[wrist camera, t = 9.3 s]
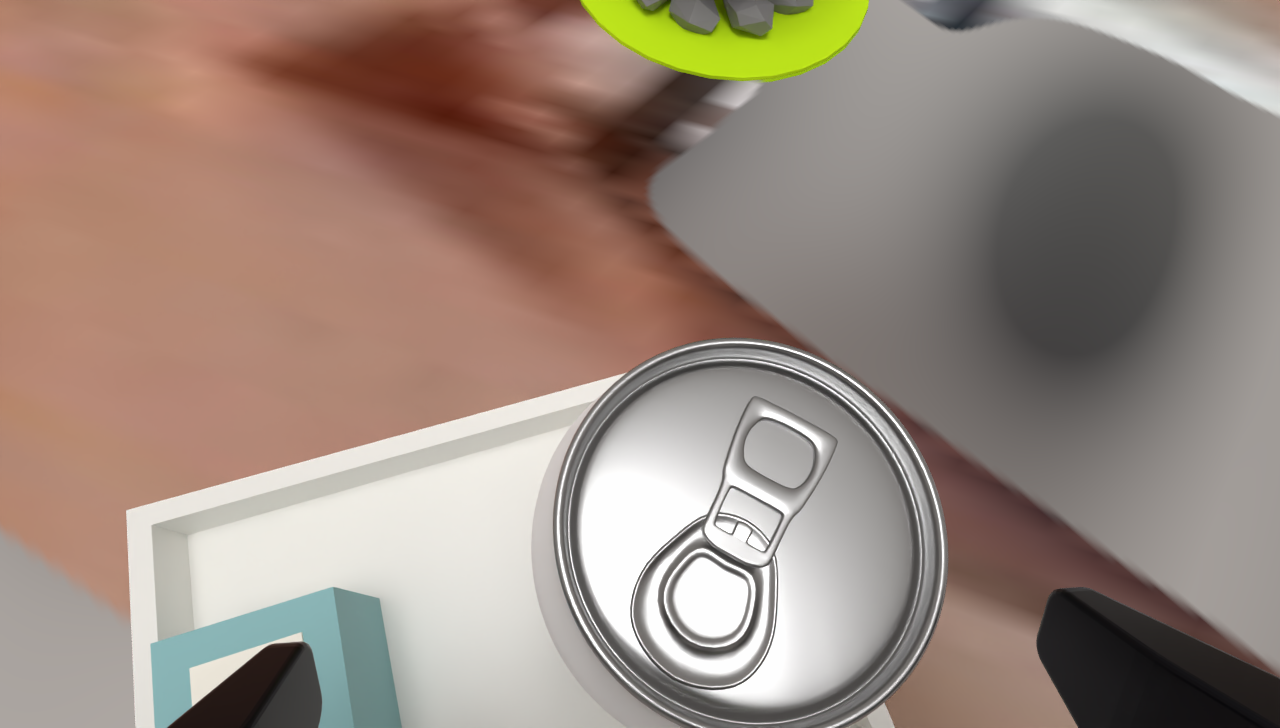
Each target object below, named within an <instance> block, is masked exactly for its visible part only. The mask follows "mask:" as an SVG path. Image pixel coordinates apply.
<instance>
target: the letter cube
mask: <svg viewBox="0 0 1280 728" xmlns="http://www.w3.org/2000/svg"><path fill="white" fill-rule="evenodd" d="M300 641H302V642H306V643H308V644H309V645H310V647H311V649H312V652H313V656H314V660H315V665H316V670H317V674H318V679H319V684H320V688H321V693H322V713H321V718H320V723H319V727H318V728H402V725H401V720H400V714H399V708H398V702H397V697H396V691H395V685H394V679H393V674H392V668H391V662H390V657H389V651H388V645H387V639H386V634H385V628H384V622H383V616H382V611H381V605H380V599H379V598H376V597H372V596H368V595H364V594H360V593H356V592H352V591H348V590H344V589H341V588H337V587H330V588H327V589H324V590H320V591H317V592H314V593H311V594H308V595H304V596H301V597H298V598H295V599H292V600H288V601H285V602H282V603H279V604H276V605H273V606H269V607H266V608H263V609H260V610H257V611H253V612H250V613H247V614H244V615H241V616H237V617H234V618H231V619H228V620H225V621H221V622H218V623H215V624H212V625H209V626H205V627H202V628H199V629H196V630H193V631H189V632H186V633H183V634H180V635H177V636H173V637H170V638H167V639H164V640H161V641H157V642H154V643H151V644H150V647H151V666H152V685H153V704H154V723H155V728H167V727H168V726H169V725H170V724H172V723H173V722H174V721H175V720H176V719H178V718H179V717H180V716H181V715H183V714H184V713H185V712H186V711H187V710H189V709H190V708H191V707H192V706H194V705H195V704H196V703H197V702H198V701H200V700H201V699H202V698H203V697H205V696H206V695H207V694H208V693H209V692H211V691H212V690H213V689H214V688H215V687H217V686H218V685H219V684H220V683H222V682H223V681H224V680H225V679H226V678H228V677H229V676H230V675H231V674H233V673H234V672H235V671H236V670H237V669H239V668H240V667H241V666H242V665H244V664H245V663H246V662H247V661H248V660H250V659H251V658H252V657H253V656H254V655H256V654H257V653H258V652H259V651H261V650H262V649H263V648H265V647H266V646H268V645H270V644H274V643H286V642H300Z"/></svg>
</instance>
